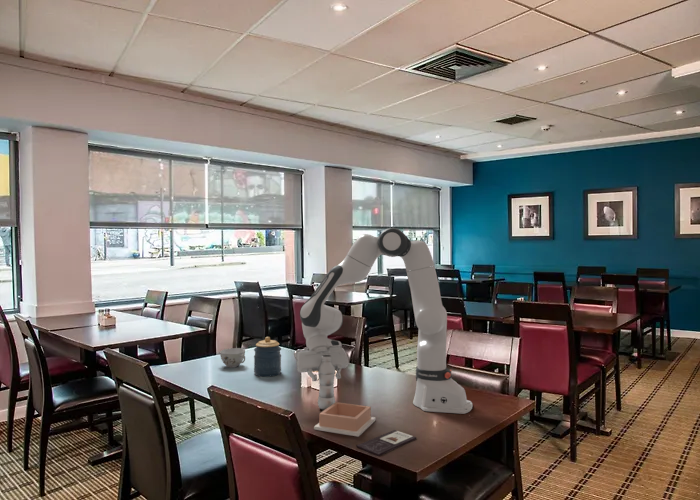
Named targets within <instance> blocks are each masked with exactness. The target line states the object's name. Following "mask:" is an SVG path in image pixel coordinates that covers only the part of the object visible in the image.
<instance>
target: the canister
mask: <svg viewBox="0 0 700 500" xmlns="http://www.w3.org/2000/svg"><path fill="white" fill-rule="evenodd" d="M279 345H280V343H279V342H278V341H277V340H275V339H271V337H270V336H266V337H265V338H264V339H263V340H259V341H258V342H257V343H256V344H255V348H254V349H253V351H254V356H253V373H254V375H255V376H258V377H266V378H268V377H275V376H276V377H277V376H278V375H281V374H282V373H281V371H282V354H281V351H282V348H281V347H280V346H279Z"/></svg>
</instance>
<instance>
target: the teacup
mask: <svg viewBox="0 0 700 500" xmlns="http://www.w3.org/2000/svg"><path fill="white" fill-rule="evenodd" d="M245 355H246V350H245V349H244V348H241V347H234V348H226V349H225V348H224V349H221V350H220V352H219V356H220V359H221V362H222V363H223V364H224V365H225V366H226V367H227V368H237V367H239V366H240V364H243V363H245V361H246V356H245Z"/></svg>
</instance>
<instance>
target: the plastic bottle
mask: <svg viewBox="0 0 700 500" xmlns="http://www.w3.org/2000/svg"><path fill="white" fill-rule="evenodd" d="M321 361H322V363H321V365H320V366H319V368H318V371H317V372H318V380H319V381H318V383H319V389H318V391H319V392H318V398H317V405H318V408H319V409H320V410H322V411H324V410H325V409H327V408H328V407H330V406H331V405H332V404H334V403H335V402H336V397H335V390H334V385H335V377H336V376H335V375H336V369H335V367H334V366H333V364H332V363H331V361H332V359H331V355H322V359H321Z"/></svg>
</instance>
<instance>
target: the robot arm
mask: <svg viewBox="0 0 700 500" xmlns="http://www.w3.org/2000/svg"><path fill="white" fill-rule="evenodd" d="M381 255H382V256H387V257H391V258H395V257H400V258H401V259H402V261H403V262H404V267H405V271H406V275H407V280H408V285H409V289H410V294H411V295H410V296H411V301H412V302H411V303H412V309H413V314H414V315H413V316H414V320H415V325H416V327H417V328H418V332H417V333H418V334H417V335H418V337H417V345H416V346H417V349H416V351H417V352H416V354H417V355H416V359H417V360H416V367H415V381H416V387H415V392H414V393H415V394H414V398H413V401H412V404H413V405H414V406H415V407H417V408H420V409H421V410H422V411H424V412H434V413H445V414H446V413H448V414H460V415H461V414H464V415H465V414H467V413H469V412H471V411H472V410H473V402H472V401H471V400H468V399H467V394H466V390H465V388H464V387H463V386H462V385H461V384H459V383H457V381H455V380H454V379H453V378H452V369H450V368H448V367H447V331H448V329H447V328H448V327H447V326H448V314H447V313H448V312H447V310H446V307H444V305H443V301H442V297H441V289H440V284H439V279H438V276H437V272H436V267H435V263H434V259H433V256H432V252H431V251H430V249H429V246H428V244H427V242H425V241H423V240H416V239H415V240H411V239H410V238H409V237H408V236H407V235H406V234H405V233H404V231H402V230H401V229H399V228H396V227H388V228H386V229H384V230H382V231H381V233H380V234H379V235H378V236H373V234H372V235H371V234H368V233H367V234H366V233H363V234H360V235H359V236H358V237H357V238H356V240H355V241H354V242H353V243H352V245H351V247H350V248H349V250H348V252H347V253H346V255H345V257H344V259H343V260H342V261H341V262H340V263H338V265H337V264H336V265H335V266H333V267H332V268H331V269H330V270H329V271H328V272H327V274H326V275H325V276H324V278H323V279H322V281H321V282H320V284H319V285H318V286H317V288H316V289H315V290H314V292H313V293H312V294H311V296H310V297H309V298H308V299H307V300H306V301H305V302H304V303H303V304H302V306H301V307H300V310H299V318H300V321H301V327H302V328H301V329H302V333H303V337H304V339H305V345H306V348H303V349H297V350H295V351H294V353H293V355H294V359H295V360H296V361H295V362H296V369H297V372H298V373H307V375H308V376H309V377H310V378H311V380H312V382H317V381H318V376H317V374H314V373H313V372H318V368H319V366H320V365H321V363H322V361H321V359H322V355H331V359H332V361H331V363H332V364H333V366H334V367H335V371H337V372H335V376H334V377H335V378H336V379H339V380H340V379H342V375H341V371H342V369H346V368H347V367H348V365H349V363H350V360H349V357H348V354H347V353H346V350H345V349H344V348H343V347H342V342H341V341H340V340H335V339H330V338H328V336H331V335H333V334H334V333H337V331H339V330H340V329H341V327H342V325H343V321H344V317H343V313H342V311H341V310H340V309H338V308H336V307H332V306H329V305H326V304H325V303H326V301H327V300H328V298H329V297H330V296H331V294H332V293H333V292H334V290H335V289H336V288H337V287H338V286H341V285H344V284H345V285H346V284H355V283H360V282H362V281H363V280H365V279H366V278H367V276H368V275H369V274H370V272H371V269H372V267H373V266H374V263H375V262H376V260H377V259H378V258H379V257H380V256H381Z"/></svg>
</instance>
